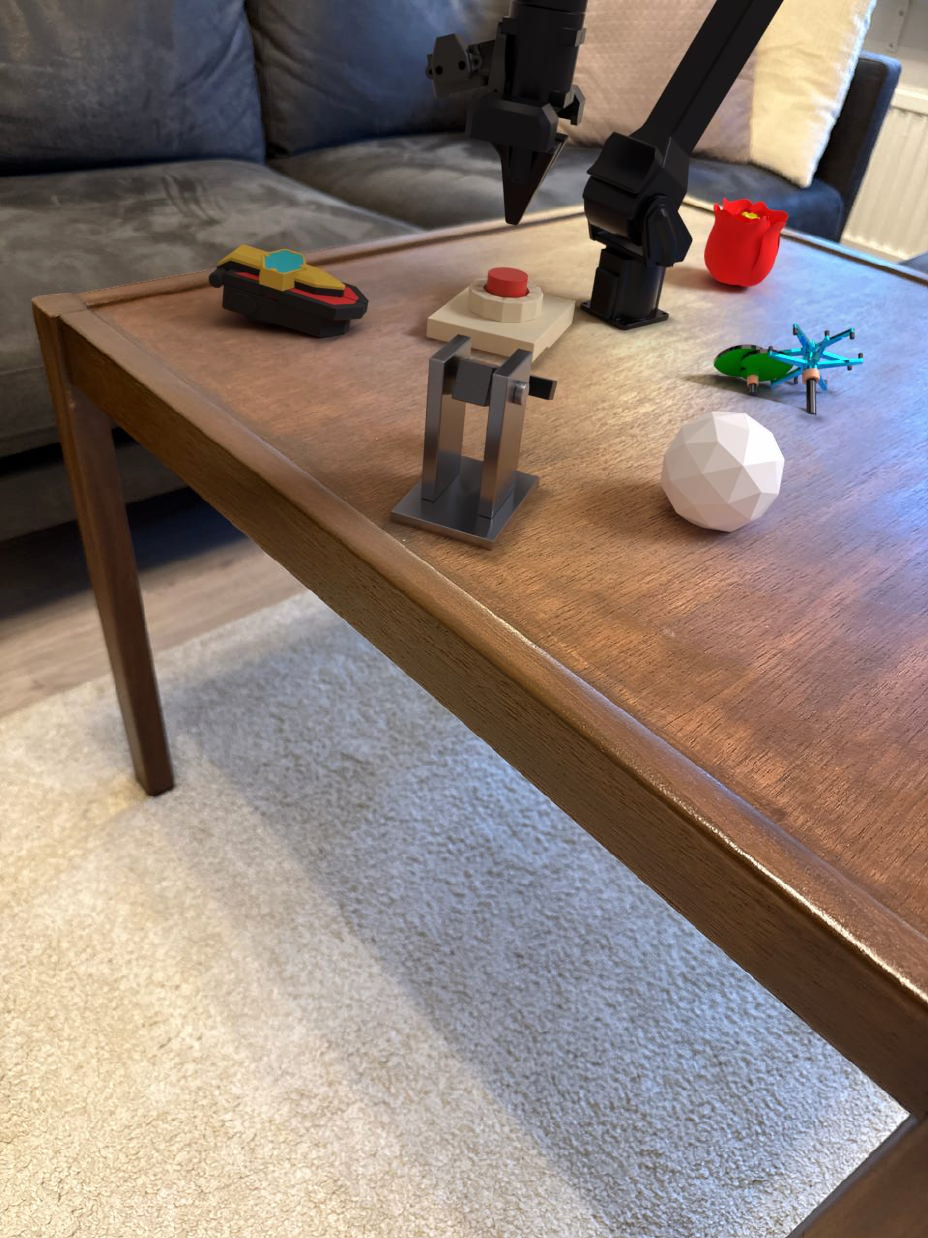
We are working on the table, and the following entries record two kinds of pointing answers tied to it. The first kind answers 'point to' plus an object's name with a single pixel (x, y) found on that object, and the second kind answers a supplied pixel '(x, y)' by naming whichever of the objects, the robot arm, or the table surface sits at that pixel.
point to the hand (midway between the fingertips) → (512, 223)
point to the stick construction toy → (786, 363)
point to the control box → (503, 319)
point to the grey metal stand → (465, 487)
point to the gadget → (286, 292)
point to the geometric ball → (722, 470)
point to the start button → (507, 282)
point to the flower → (743, 242)
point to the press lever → (478, 379)
